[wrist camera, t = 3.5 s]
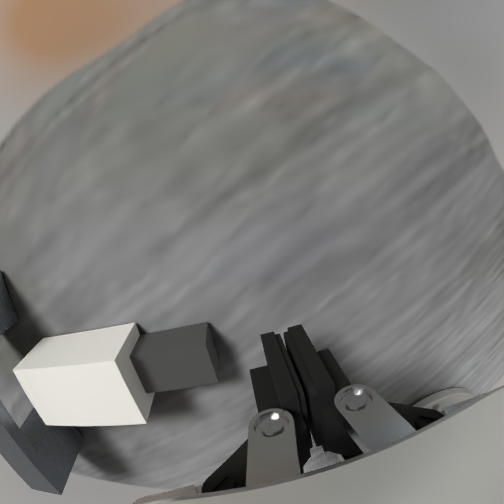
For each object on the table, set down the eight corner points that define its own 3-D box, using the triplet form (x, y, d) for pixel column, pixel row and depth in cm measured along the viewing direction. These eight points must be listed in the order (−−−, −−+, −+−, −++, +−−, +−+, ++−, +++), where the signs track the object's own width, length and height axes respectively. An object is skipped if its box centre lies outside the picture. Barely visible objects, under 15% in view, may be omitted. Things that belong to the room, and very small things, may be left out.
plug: (203, 308, 16) (198, 346, 13) (222, 369, 17) (222, 413, 13) (32, 339, 16) (2, 370, 12) (57, 389, 17) (35, 424, 13)
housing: (-1, 269, 15) (-61, 302, 9) (84, 439, 18) (61, 494, 12) (-25, 278, 15) (-81, 309, 9) (56, 437, 18) (31, 488, 12)
